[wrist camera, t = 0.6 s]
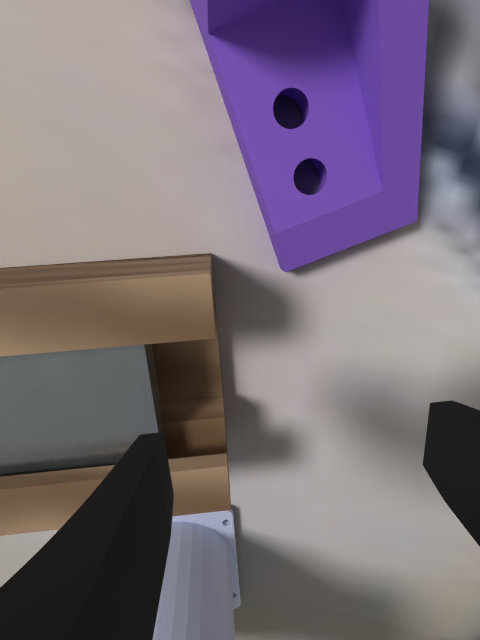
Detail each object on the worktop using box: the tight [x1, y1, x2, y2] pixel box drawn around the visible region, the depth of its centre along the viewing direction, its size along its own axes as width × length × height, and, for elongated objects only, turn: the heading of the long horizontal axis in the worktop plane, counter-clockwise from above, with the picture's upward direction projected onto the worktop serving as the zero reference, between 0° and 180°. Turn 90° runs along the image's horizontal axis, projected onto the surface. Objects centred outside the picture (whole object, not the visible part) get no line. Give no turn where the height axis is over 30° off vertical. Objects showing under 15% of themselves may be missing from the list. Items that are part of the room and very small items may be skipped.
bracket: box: [190, 0, 429, 272], centre depth 13 cm, size 12×7×7 cm, turn 21°
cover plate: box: [0, 344, 168, 477], centre depth 15 cm, size 8×12×2 cm, turn 93°
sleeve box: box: [0, 253, 231, 536], centre depth 16 cm, size 11×12×6 cm
